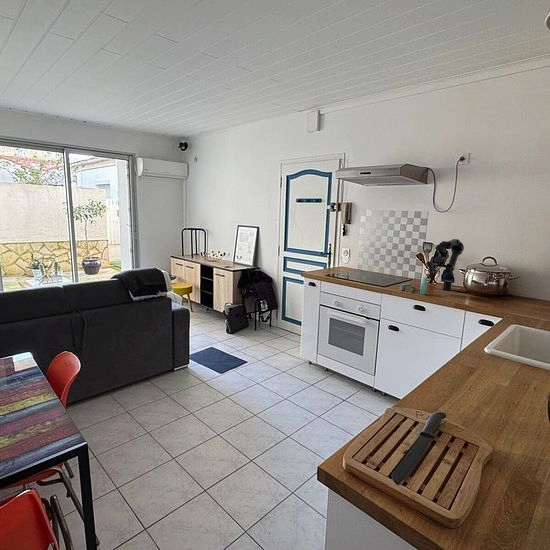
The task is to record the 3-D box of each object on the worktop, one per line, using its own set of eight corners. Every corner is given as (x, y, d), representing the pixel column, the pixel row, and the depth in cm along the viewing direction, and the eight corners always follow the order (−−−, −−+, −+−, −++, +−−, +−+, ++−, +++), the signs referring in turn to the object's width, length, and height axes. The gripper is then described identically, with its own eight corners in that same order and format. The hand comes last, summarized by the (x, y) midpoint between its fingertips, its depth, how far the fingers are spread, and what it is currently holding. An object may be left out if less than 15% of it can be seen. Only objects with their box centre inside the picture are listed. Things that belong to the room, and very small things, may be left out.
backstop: (410, 289, 274) (410, 283, 273) (401, 290, 269) (402, 284, 268) (408, 288, 276) (408, 283, 275) (399, 290, 271) (400, 284, 270)
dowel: (419, 293, 262) (421, 276, 260) (425, 293, 261) (427, 277, 258) (420, 294, 258) (421, 277, 256) (425, 294, 257) (427, 278, 255)
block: (419, 291, 267) (419, 287, 266) (411, 292, 262) (411, 289, 262) (412, 290, 272) (413, 286, 271) (405, 291, 267) (405, 287, 267)
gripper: (426, 251, 260) (420, 270, 257) (453, 253, 247) (447, 273, 244) (431, 257, 268) (425, 276, 265) (457, 260, 255) (451, 279, 252)
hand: (436, 276), depth 257 cm, fingers open, 9 cm apart
